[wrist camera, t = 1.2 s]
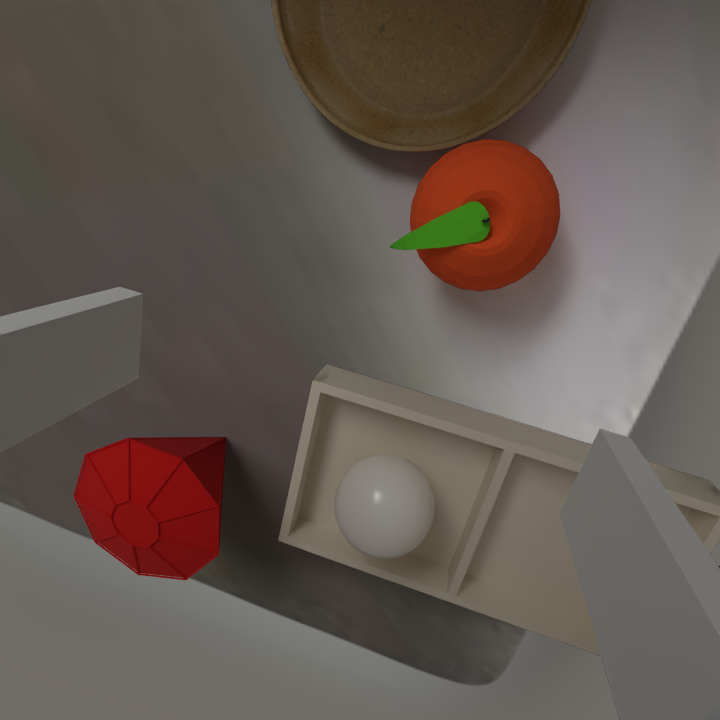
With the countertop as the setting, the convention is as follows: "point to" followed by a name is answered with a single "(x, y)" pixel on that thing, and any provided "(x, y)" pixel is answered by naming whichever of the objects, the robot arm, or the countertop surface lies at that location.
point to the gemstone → (155, 502)
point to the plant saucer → (424, 63)
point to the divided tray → (463, 501)
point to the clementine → (483, 215)
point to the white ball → (384, 506)
